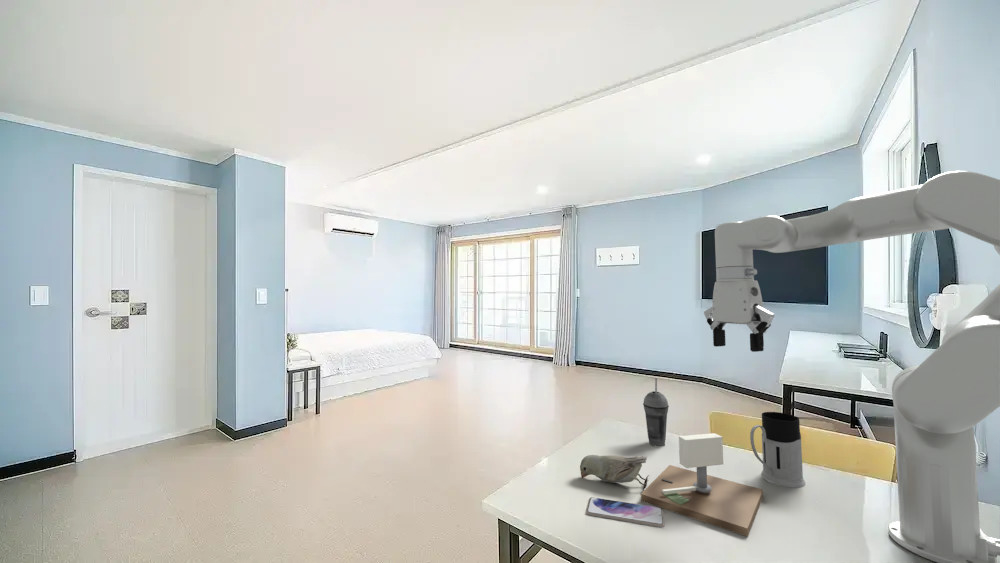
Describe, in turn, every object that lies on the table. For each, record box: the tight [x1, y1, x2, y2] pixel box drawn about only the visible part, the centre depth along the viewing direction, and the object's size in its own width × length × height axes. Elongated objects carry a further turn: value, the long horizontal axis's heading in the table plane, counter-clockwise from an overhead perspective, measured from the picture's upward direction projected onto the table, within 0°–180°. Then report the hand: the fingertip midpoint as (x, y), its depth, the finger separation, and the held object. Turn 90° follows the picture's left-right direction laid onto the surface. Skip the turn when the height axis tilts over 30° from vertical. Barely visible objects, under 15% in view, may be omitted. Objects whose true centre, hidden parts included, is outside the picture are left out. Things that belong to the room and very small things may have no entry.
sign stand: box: [662, 432, 724, 494], centre depth 86 cm, size 14×4×12 cm, turn 100°
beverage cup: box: [642, 377, 670, 448], centre depth 119 cm, size 7×7×20 cm
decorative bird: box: [579, 454, 650, 492], centre depth 94 cm, size 5×16×8 cm, turn 66°
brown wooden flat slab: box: [640, 464, 764, 537], centre depth 86 cm, size 20×19×2 cm
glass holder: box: [749, 411, 806, 489], centre depth 94 cm, size 9×14×15 cm, turn 109°
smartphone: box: [585, 496, 665, 528], centre depth 81 cm, size 7×1×15 cm
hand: (737, 348), depth 91 cm, fingers open, 9 cm apart
